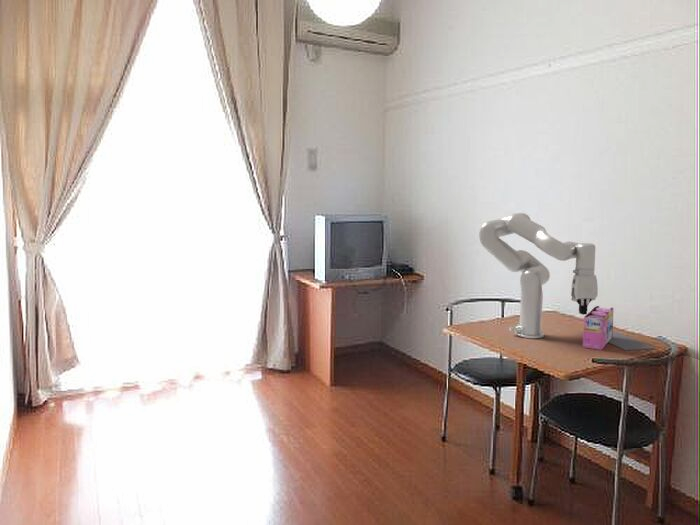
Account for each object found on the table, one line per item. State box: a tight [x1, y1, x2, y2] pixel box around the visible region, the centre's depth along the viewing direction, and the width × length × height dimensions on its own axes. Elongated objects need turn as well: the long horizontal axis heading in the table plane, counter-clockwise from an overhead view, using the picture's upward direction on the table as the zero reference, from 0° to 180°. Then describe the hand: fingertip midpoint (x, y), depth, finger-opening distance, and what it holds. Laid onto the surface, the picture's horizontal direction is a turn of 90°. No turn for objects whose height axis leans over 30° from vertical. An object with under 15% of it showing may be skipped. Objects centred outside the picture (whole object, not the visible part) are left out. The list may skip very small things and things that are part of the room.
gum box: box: [582, 305, 614, 351], centre depth 241 cm, size 24×8×14 cm, turn 144°
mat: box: [607, 331, 656, 351], centre depth 243 cm, size 14×24×1 cm, turn 10°
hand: (582, 313), depth 238 cm, fingers closed
